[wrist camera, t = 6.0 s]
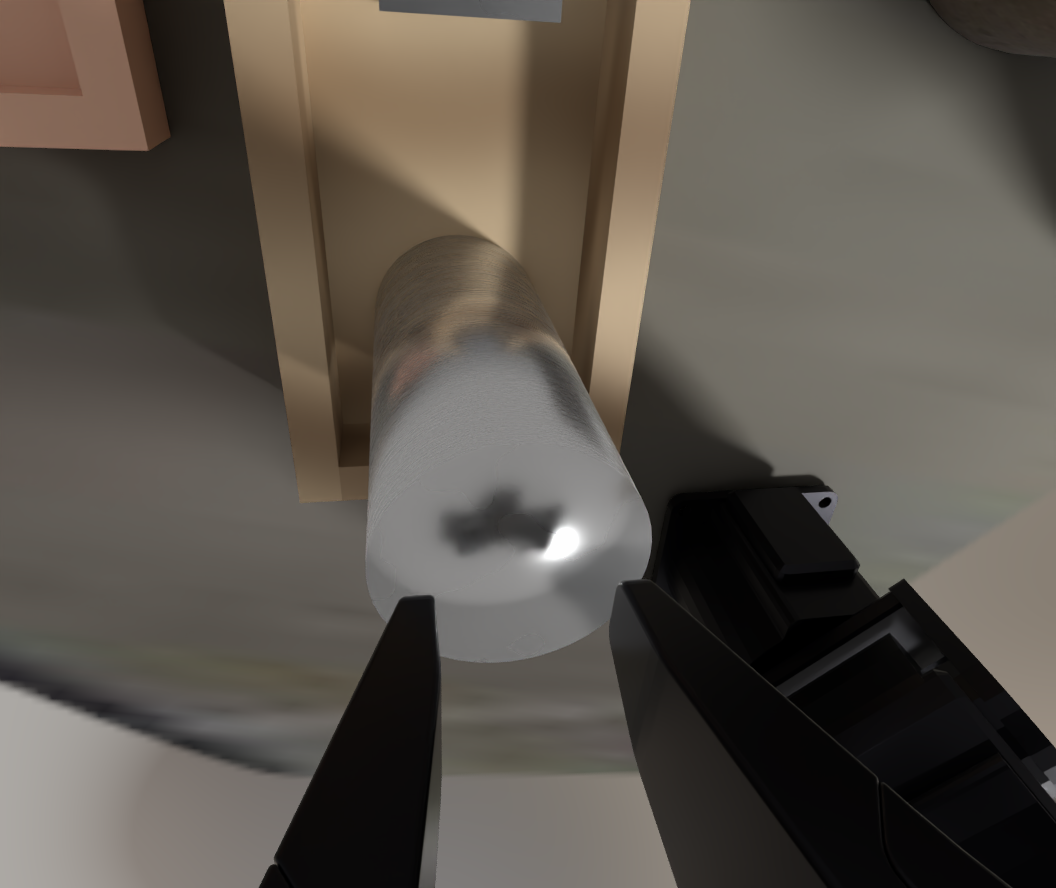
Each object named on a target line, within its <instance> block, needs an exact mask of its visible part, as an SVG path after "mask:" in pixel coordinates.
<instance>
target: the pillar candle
mask: <svg viewBox="0 0 1056 888" xmlns="http://www.w3.org/2000/svg"><path fill="white" fill-rule="evenodd" d="M930 2H931V4H932V6H933V7H934V9H935V10H936V11H937V13H938V14H939V15H940V16H941V18H942V19H943V20H944V21H945V22H946V23H947V24H948V25H949V26H950V27H951V28H952V29H954V30H955V31H956V32H958V33H960V34H961V35H962V36H964V37H965V38H966V39H968V40H970V41H972V42H973V43H976V44H978V45H981V46H984V47H987V48H991V49H995V50H1000V51H1003V52H1007V53H1012V54H1019V55H1030V56H1045V57H1054V58H1056V0H930Z"/></svg>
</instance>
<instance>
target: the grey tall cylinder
mask: <svg viewBox="0 0 1056 888" xmlns="http://www.w3.org/2000/svg"><path fill="white" fill-rule="evenodd" d="M651 545H652V531H651V523H650V519H649V515H648V512H647V509H646V507H645V505H644V502H643V500H642V498H641V496H640V494H639V492H638V490H637V488H636V486H635V484H634V482H633V480H632V478H631V476H630V475H629V473H628V471H627V469H626V467H625V465H624V463H623V461H622V459H621V457H620V455H619V453H618V451H617V449H616V447H615V445H614V443H613V441H612V439H611V437H610V435H609V433H608V431H607V429H606V427H605V425H604V423H603V422H602V420H601V418H600V416H599V414H598V412H597V410H596V408H595V406H594V404H593V402H592V400H591V398H590V396H589V394H588V392H587V390H586V388H585V386H584V384H583V382H582V380H581V378H580V376H579V374H578V372H577V370H576V368H575V367H574V365H573V363H572V361H571V359H570V357H569V355H568V353H567V351H566V349H565V347H564V345H563V343H562V341H561V339H560V337H559V335H558V333H557V331H556V329H555V327H554V325H553V323H552V321H551V319H550V317H549V315H548V314H547V312H546V310H545V308H544V306H543V304H542V302H541V300H540V298H539V296H538V294H537V292H536V290H535V288H534V286H533V284H532V282H531V280H530V278H529V276H528V275H527V273H526V271H525V270H524V268H523V267H522V266H521V265H520V263H519V262H518V261H517V260H516V259H515V258H514V257H513V256H512V255H511V254H510V253H509V252H507V251H506V250H504V249H503V248H501V247H500V246H498V245H496V244H494V243H492V242H490V241H487V240H484V239H481V238H477V237H473V236H466V235H447V236H441V237H436V238H433V239H430V240H427V241H424V242H422V243H420V244H418V245H416V246H414V247H412V248H411V249H409V250H408V251H406V252H405V253H404V254H403V255H402V256H400V257H399V258H398V259H397V260H396V261H395V262H394V264H393V265H392V266H391V267H390V268H389V270H388V271H387V273H386V275H385V276H384V278H383V280H382V282H381V285H380V287H379V290H378V293H377V297H376V304H375V321H374V348H373V375H372V402H371V429H370V456H369V483H368V510H367V537H366V581H367V586H368V591H369V594H370V596H371V599H372V602H373V604H374V606H375V607H376V609H377V611H378V612H379V614H380V616H381V617H382V618H383V619H384V621H385V622H386V623H388V621H389V619H390V617H391V615H392V613H393V611H394V609H395V607H396V605H397V603H398V601H399V600H400V599H401V598H402V597H404V596H415V595H432V596H433V597H434V598H435V604H436V616H437V627H438V639H439V650H440V656H442V657H447V658H451V659H455V660H461V661H469V662H485V663H494V662H509V661H516V660H523V659H527V658H532V657H536V656H540V655H543V654H546V653H549V652H553V651H556V650H558V649H561V648H563V647H565V646H568V645H570V644H572V643H574V642H576V641H578V640H580V639H581V638H583V637H585V636H587V635H588V634H590V633H592V632H593V631H595V630H596V629H598V628H599V627H600V626H602V625H603V624H604V623H605V622H607V621H608V620H609V619H610V618H611V613H612V607H613V602H614V597H615V591H616V587H617V585H618V584H619V583H620V582H621V581H624V580H637V579H642V577H643V575H644V573H645V570H646V568H647V565H648V561H649V558H650V553H651Z"/></svg>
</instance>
